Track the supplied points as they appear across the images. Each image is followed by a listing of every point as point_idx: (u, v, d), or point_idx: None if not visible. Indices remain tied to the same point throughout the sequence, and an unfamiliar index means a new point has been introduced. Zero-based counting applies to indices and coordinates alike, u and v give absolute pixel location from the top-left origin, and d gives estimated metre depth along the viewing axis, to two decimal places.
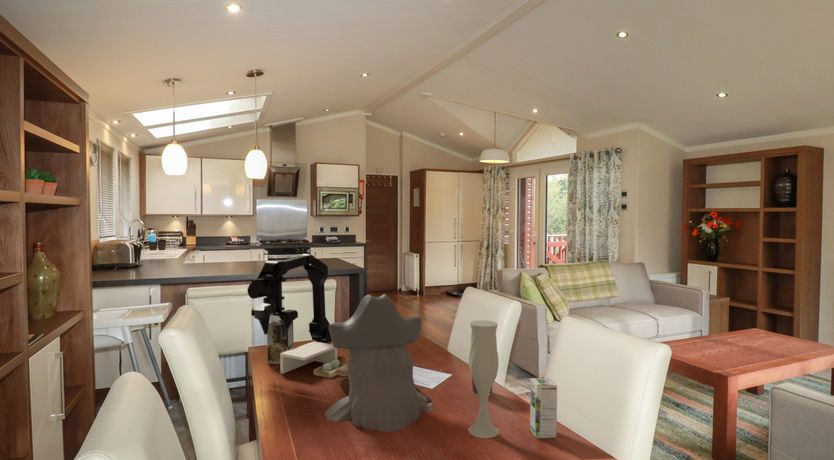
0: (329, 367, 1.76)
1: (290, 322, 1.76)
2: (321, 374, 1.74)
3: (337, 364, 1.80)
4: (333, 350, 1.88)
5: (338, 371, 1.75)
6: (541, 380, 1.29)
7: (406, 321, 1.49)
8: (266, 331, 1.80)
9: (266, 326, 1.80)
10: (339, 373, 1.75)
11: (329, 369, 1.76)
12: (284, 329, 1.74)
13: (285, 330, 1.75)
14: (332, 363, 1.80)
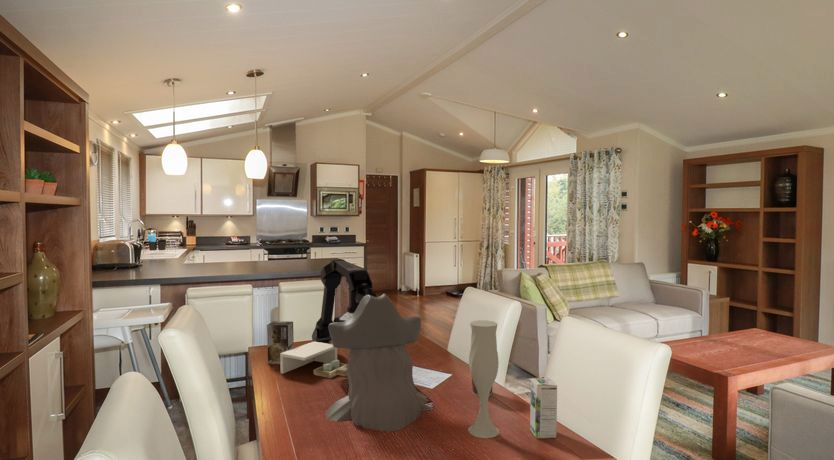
0: (329, 367, 1.76)
1: None
2: (321, 374, 1.74)
3: (337, 364, 1.80)
4: (333, 350, 1.88)
5: (338, 371, 1.75)
6: (541, 380, 1.29)
7: (406, 321, 1.49)
8: None
9: None
10: (339, 373, 1.75)
11: (329, 369, 1.76)
12: None
13: None
14: (332, 363, 1.80)
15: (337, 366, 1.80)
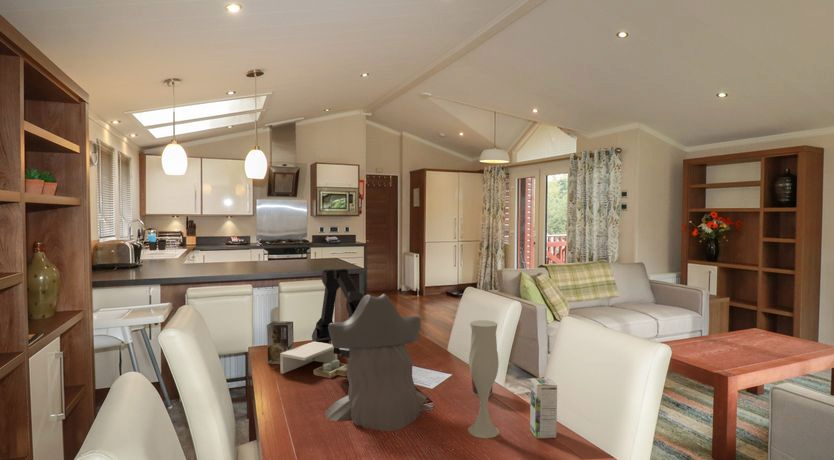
0: (329, 367, 1.76)
1: None
2: (321, 374, 1.74)
3: (337, 364, 1.80)
4: None
5: (338, 371, 1.75)
6: (541, 380, 1.29)
7: (405, 321, 1.49)
8: None
9: None
10: (339, 373, 1.75)
11: (329, 369, 1.76)
12: None
13: None
14: (332, 363, 1.80)
15: (337, 366, 1.80)
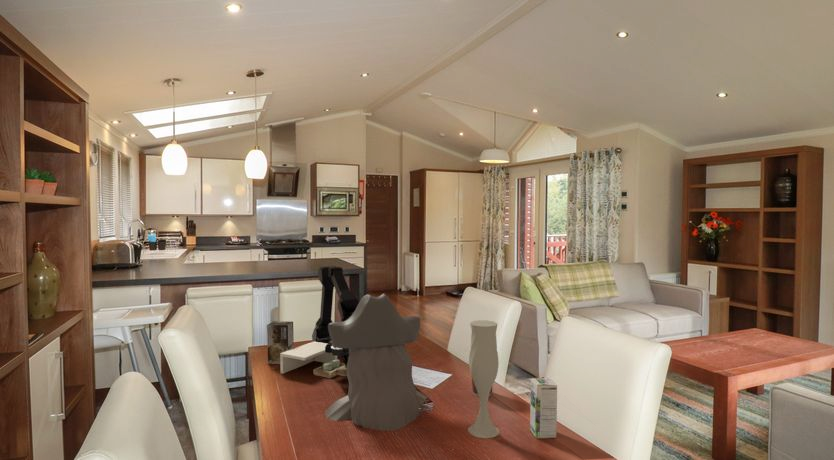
0: (329, 367, 1.76)
1: None
2: (321, 374, 1.74)
3: (337, 364, 1.80)
4: None
5: (338, 371, 1.75)
6: (541, 380, 1.29)
7: (405, 320, 1.50)
8: None
9: None
10: (339, 373, 1.75)
11: (329, 369, 1.76)
12: None
13: None
14: (332, 363, 1.80)
15: (337, 366, 1.80)
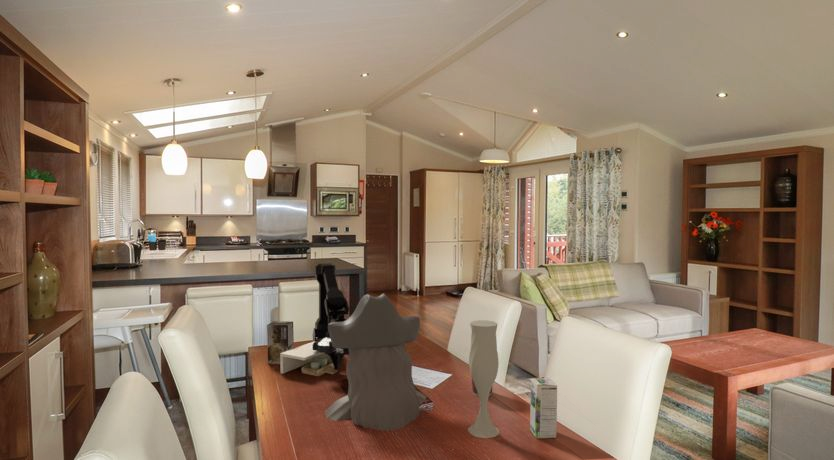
0: (317, 365, 1.78)
1: (343, 355, 1.78)
2: (309, 372, 1.76)
3: (325, 362, 1.82)
4: None
5: (326, 369, 1.78)
6: (541, 380, 1.29)
7: (405, 320, 1.50)
8: None
9: None
10: (327, 371, 1.77)
11: (317, 367, 1.78)
12: (338, 362, 1.76)
13: (338, 363, 1.77)
14: (320, 361, 1.82)
15: (325, 364, 1.82)
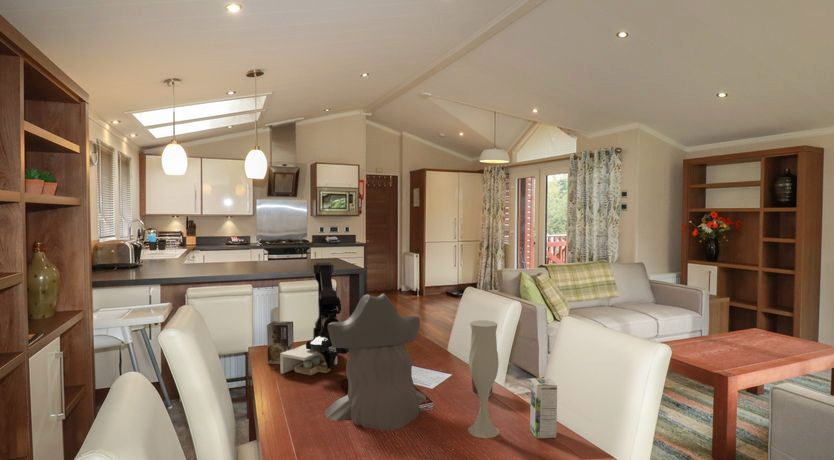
0: (310, 364, 1.79)
1: (336, 353, 1.80)
2: (302, 371, 1.77)
3: (317, 361, 1.83)
4: None
5: (319, 368, 1.79)
6: (541, 380, 1.29)
7: (405, 320, 1.50)
8: None
9: None
10: (320, 370, 1.79)
11: (310, 366, 1.79)
12: (330, 361, 1.78)
13: (331, 362, 1.78)
14: (312, 360, 1.83)
15: (317, 363, 1.83)
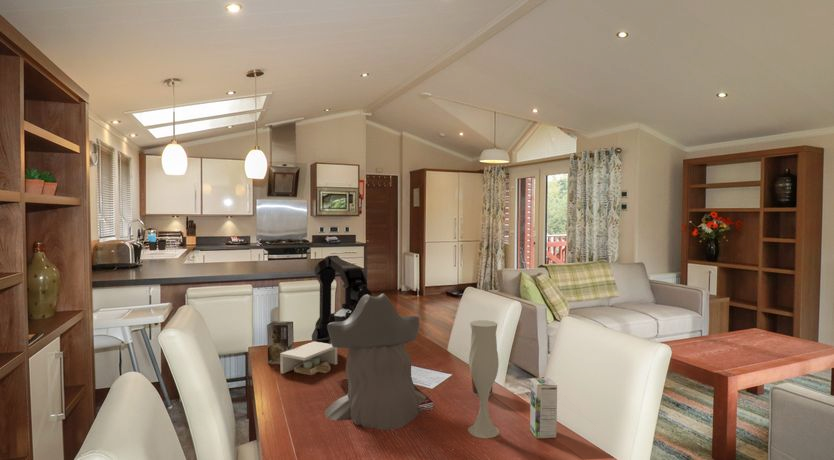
0: (310, 364, 1.79)
1: None
2: (302, 371, 1.77)
3: (317, 361, 1.83)
4: (333, 350, 1.88)
5: (319, 368, 1.79)
6: (541, 380, 1.29)
7: (404, 320, 1.50)
8: None
9: None
10: (320, 370, 1.79)
11: (310, 366, 1.79)
12: None
13: None
14: (312, 360, 1.83)
15: (317, 363, 1.83)
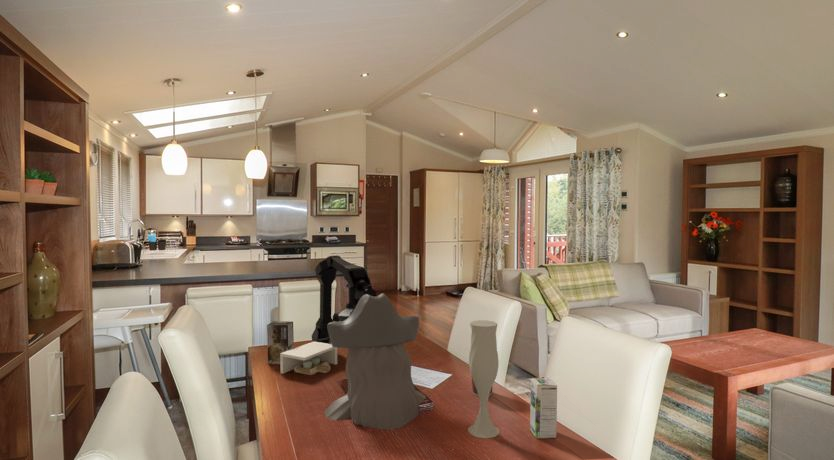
0: (310, 364, 1.79)
1: None
2: (302, 371, 1.77)
3: (317, 361, 1.83)
4: (333, 350, 1.88)
5: (319, 368, 1.79)
6: (541, 380, 1.29)
7: (404, 320, 1.50)
8: None
9: None
10: (320, 370, 1.79)
11: (310, 366, 1.79)
12: None
13: None
14: (312, 360, 1.83)
15: (317, 363, 1.83)
